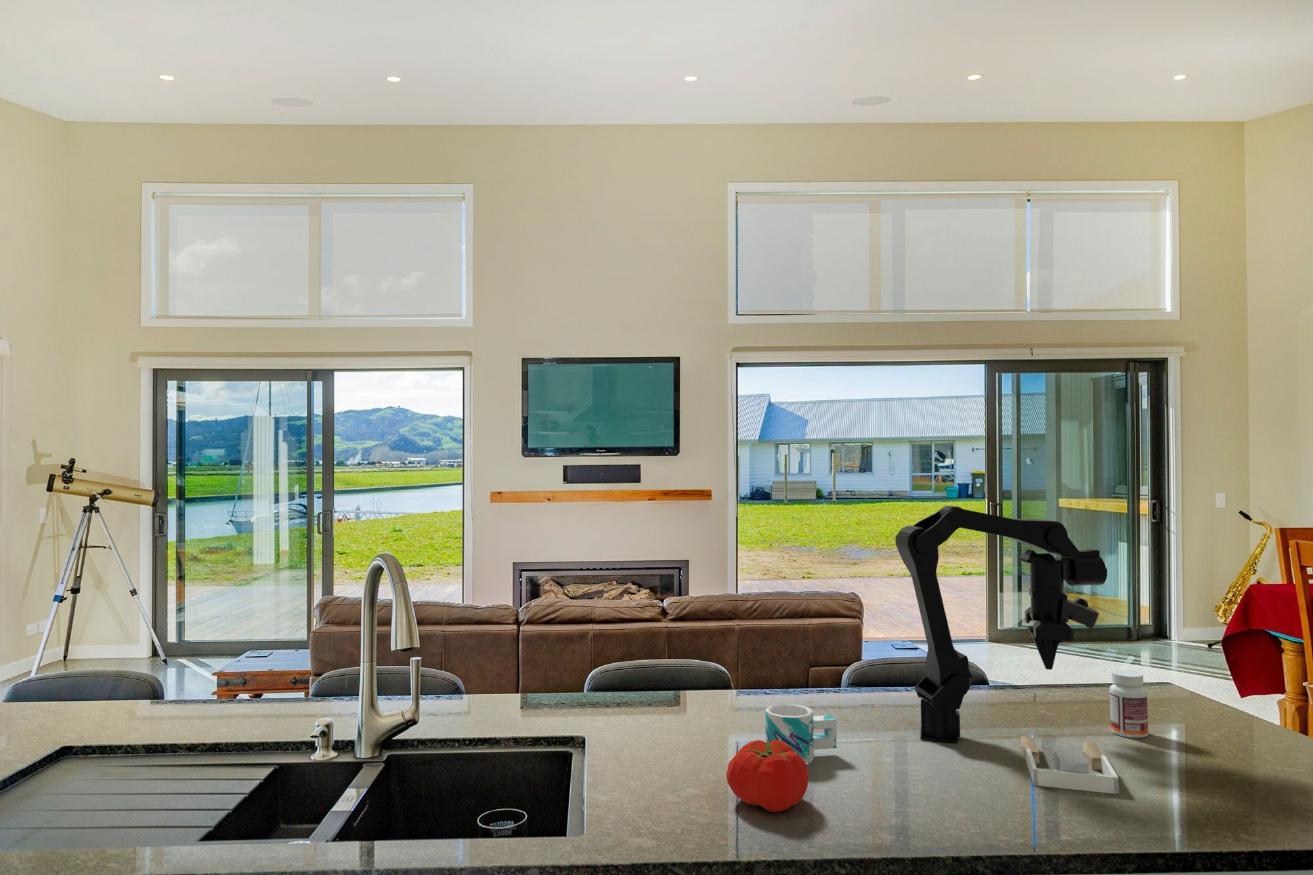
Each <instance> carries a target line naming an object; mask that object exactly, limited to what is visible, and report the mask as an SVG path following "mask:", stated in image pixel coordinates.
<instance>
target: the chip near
mask: <svg viewBox="0 0 1313 875" xmlns="http://www.w3.org/2000/svg"><path fill="white" fill-rule="evenodd" d="M1056 762H1057V770H1058V771H1068V772H1078V773H1088V774H1090V773H1089V763H1088V761H1087V759H1086V757H1085V755H1084V754H1083V755H1073V754H1062V753H1056Z"/></svg>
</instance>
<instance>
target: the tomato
mask: <svg viewBox="0 0 1313 875" xmlns="http://www.w3.org/2000/svg"><path fill="white" fill-rule="evenodd" d="M807 765H808V764H807ZM807 765H806V763H805V761H804V759H803V758H802V757H801V756H800V755H799V754H798V753H795V751H794V750H793V749H792V748H791V747H790V746H788V745H787V744H786V743H785V742H782V741H779V740H773V741H771V742H769V741H768V740H767V741H766V740H765V741H764V740H761V739H756V740H751V741H748V742H747V743H746V744H744V745H742V747H741V748H740V749H738V751H737V752H736V753H735V755H734V756H733V757H732V758H731V760H729V762H728V765H727V768H726V773H725V775H726V781H727V782H726V783H727V785H728V786H729V787H730V789H731V791H732V793H733V794H734V795H735V796H736V797H737V798H738V799H740V800H741V801H743V802H745V803H747V804H749V805H751V806H755V807H758V806H759V807H762V808H763V809H764V810H766V811H768V812H771V813H776V812H777V813H778V812H779V813H780V812H783V811H786V810H787V809H789V808H791V807H793V806H796V805H797V804H799V802H801V800H802V799H803V798H804V796H805V794H806V792H807V789H808V786H809V771H808V769H809V768H808V766H807Z"/></svg>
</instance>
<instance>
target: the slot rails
mask: <svg viewBox="0 0 1313 875" xmlns="http://www.w3.org/2000/svg"><path fill="white" fill-rule="evenodd" d="M1020 738H1021V739H1020V741H1021V743H1020V744H1021V750H1022V754H1023V757H1024V759H1025V763H1026V764H1027V762H1026V748H1027V749H1030V750H1031V753H1032V756H1033V759H1034V761H1035V764H1036V765H1040V752H1039V751H1040V750H1039V749H1038V747H1037V743H1036V740H1035V737H1031V736H1024V735H1023V736H1020ZM1082 744H1083V745H1082V749H1083V752H1082V753H1083V755H1084V757H1085V759H1086V761H1087V763H1088V766H1089V767H1090V768H1091V770H1094V771H1101V755H1103V752H1102V751H1101V750H1100V749H1101V748H1100V747H1099V746H1098V744H1097V743H1096V742H1089V741H1082Z"/></svg>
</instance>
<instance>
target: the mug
mask: <svg viewBox="0 0 1313 875" xmlns="http://www.w3.org/2000/svg"><path fill="white" fill-rule="evenodd" d="M814 730H823V734H814ZM767 740H768V741H769V742H771V741H773V740H779V741H782V742H785V743H786V744H787V745H788V746H790V747H791V748H792V749H793V750H794V751H795V753H798V754H799V755H800V756H801V757H802V758H803V759H804V761H805V763H810V761H812V759H813V760H815V758H814V756H815V753H814V751H815V750H827V749H837V719H836V718H835V717H834V716H832V715H831V714H829V715H828V714H827V715H814V711H813V710H812V709H811V707H808V706H806V705H801V704H797V703H779V704H778V703H777V704H772V705H769V706H768V707H767V708H766V709H765V742H766V741H767ZM812 762H813V761H812ZM810 764H811V763H810Z"/></svg>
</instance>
